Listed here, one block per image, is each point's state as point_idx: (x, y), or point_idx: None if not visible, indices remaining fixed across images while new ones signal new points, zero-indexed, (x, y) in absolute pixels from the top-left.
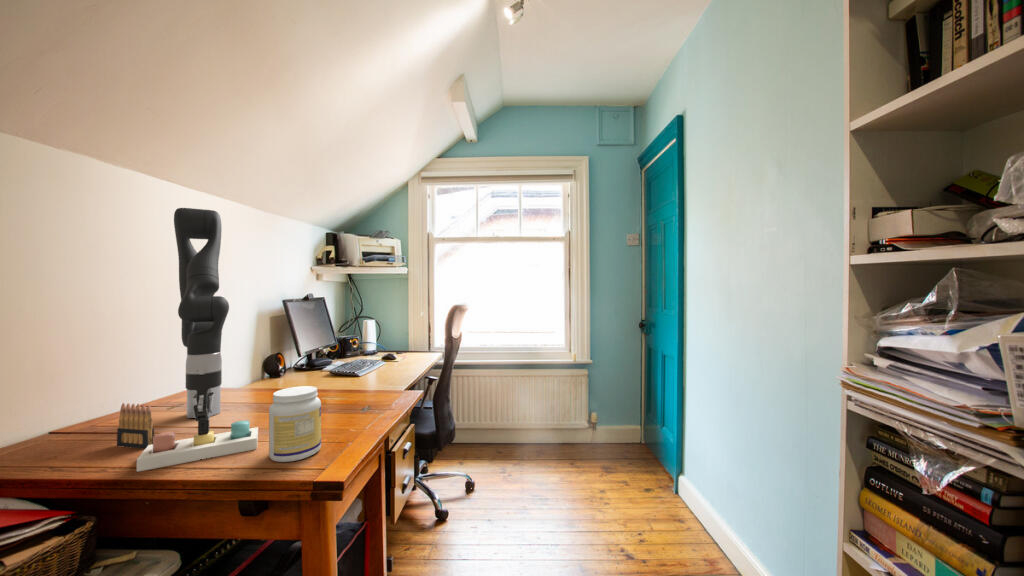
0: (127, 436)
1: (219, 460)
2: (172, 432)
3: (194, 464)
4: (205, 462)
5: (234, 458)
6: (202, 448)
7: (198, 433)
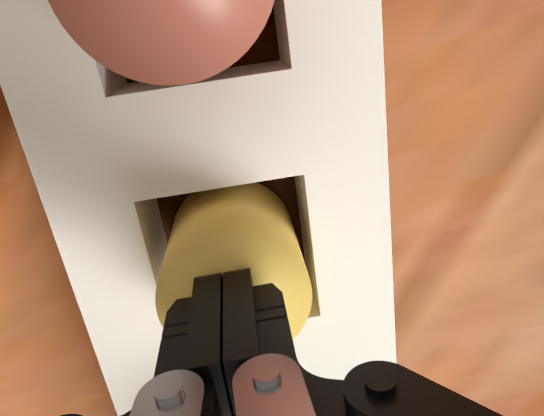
0: None
1: (49, 349)
2: (229, 40)
3: (22, 234)
4: (39, 286)
5: (57, 411)
6: (76, 296)
7: (193, 285)
